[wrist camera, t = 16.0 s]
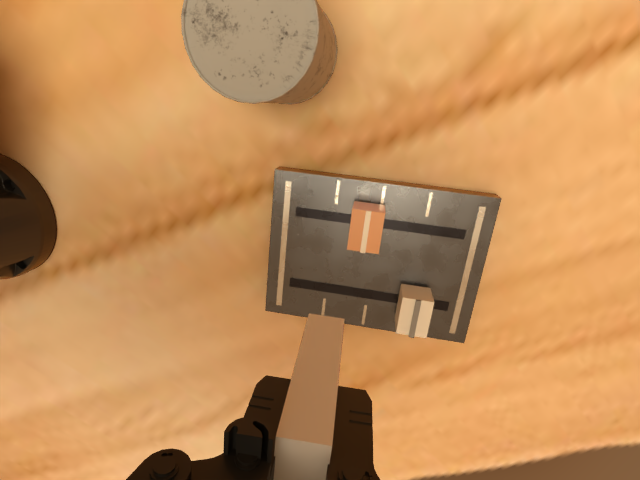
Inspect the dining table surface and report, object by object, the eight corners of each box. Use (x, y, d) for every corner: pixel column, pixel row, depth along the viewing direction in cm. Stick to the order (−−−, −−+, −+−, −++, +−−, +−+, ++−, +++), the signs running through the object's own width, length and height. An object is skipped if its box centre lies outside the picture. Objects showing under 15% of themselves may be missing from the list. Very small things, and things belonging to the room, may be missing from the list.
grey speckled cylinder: (292, -31, 36) (252, -94, 25) (357, 57, 38) (348, 36, 26) (219, 46, 39) (153, 21, 28) (283, 124, 41) (245, 132, 29)
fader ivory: (394, 317, 43) (396, 334, 40) (401, 283, 42) (402, 298, 38) (423, 321, 43) (426, 339, 39) (430, 288, 41) (434, 303, 38)
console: (269, 302, 47) (265, 310, 45) (279, 166, 42) (274, 169, 40) (460, 333, 45) (464, 343, 43) (495, 194, 40) (501, 198, 38)
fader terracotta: (349, 239, 41) (346, 250, 38) (354, 200, 40) (352, 209, 36) (378, 243, 41) (378, 255, 37) (384, 204, 39) (385, 213, 36)
